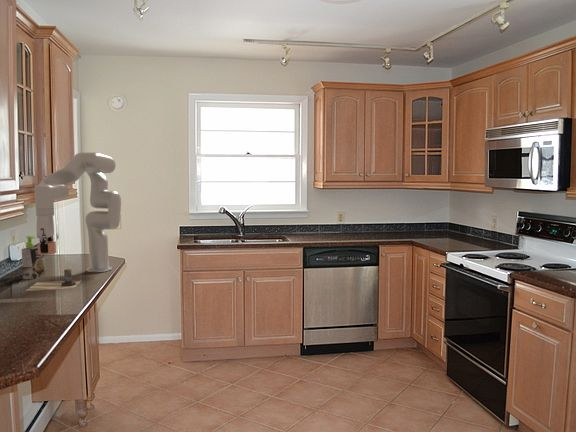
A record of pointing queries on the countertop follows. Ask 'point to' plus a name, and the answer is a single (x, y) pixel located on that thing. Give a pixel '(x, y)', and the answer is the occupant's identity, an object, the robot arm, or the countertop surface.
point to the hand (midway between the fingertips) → (47, 250)
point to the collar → (50, 248)
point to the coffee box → (33, 263)
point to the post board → (56, 283)
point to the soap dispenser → (29, 241)
